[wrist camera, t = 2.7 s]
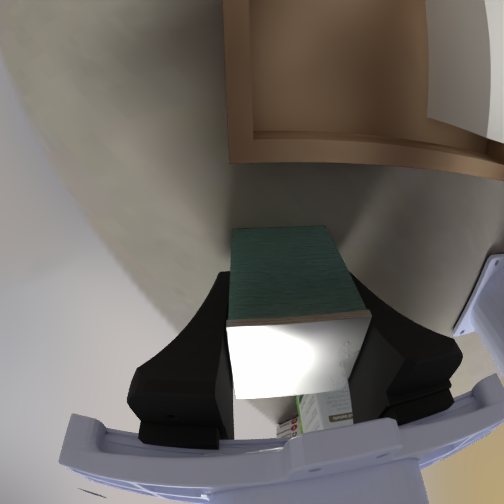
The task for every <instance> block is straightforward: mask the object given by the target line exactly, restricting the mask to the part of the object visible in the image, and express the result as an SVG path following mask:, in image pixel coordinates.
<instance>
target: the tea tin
mask: <svg viewBox="0 0 504 504" xmlns="http://www.w3.org/2000/svg"><path fill="white" fill-rule="evenodd" d="M371 318H372V315H371V313H370V310H367V309H366V307H365V305H364V302H363V300H362V298H361V296H360V294H359V292H358V290H357V288H356V285H355V283H354V281H353V279H352V277H351V275H350V273H349V271H348V269H347V267H346V265H345V263H344V261H343V259H342V257H341V255H340V253H339V251H338V249H337V247H336V245H335V244H334V242H333V240H332V238H331V236H330V234H329V232H328V230H327V228H326V227H325V226H308V227H277V228H251V229H232V247H231V267H230V290H229V314H228V320H226V330H227V337H228V344H229V351H230V358H231V365H232V372H233V378H234V385H235V391H236V397H237V399H243V398H266V397H281V396H293V395H303V394H312V393H320V392H328V391H335V390H341V389H344V387H345V385H346V383H347V381H348V378H349V376H350V373H351V371H352V369H353V366H354V364H355V361H356V359H357V356H358V354H359V351H360V348H361V346H362V343H363V341H364V338H365V335H366V332H367V329H368V327H369V324H370V321H371Z"/></svg>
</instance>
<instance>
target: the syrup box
mask: <svg viewBox="0 0 504 504" xmlns="http://www.w3.org/2000/svg"><path fill="white" fill-rule="evenodd" d="M295 399H296V404H297V411H298V417H299V423H300V429H301V434H302V433H307V432H312V431H316V430H323V429H330V428H336V427H342V426H347V425H352V424H353V415H352V406H351V398H350V391H349V385H348V381H347V383H346V385H345V387H344V389H341V390H335V391H328V392H320V393H312V394H303V395H296V396H295ZM423 483H424V482H423ZM424 487H425V486H424ZM425 491H426V490H425ZM426 495H427V494H426ZM427 499H428V498H427ZM428 503H429V501H428Z"/></svg>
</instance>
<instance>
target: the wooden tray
mask: <svg viewBox="0 0 504 504" xmlns="http://www.w3.org/2000/svg"><path fill="white" fill-rule="evenodd" d="M223 27H224V55H225V80H226V102H227V122H228V141H229V159H230V164H239V163H268V162H327V163H355V164H373V165H388V166H400V167H411V168H421V169H430V170H438V171H446V172H453V173H460V174H467V175H473V176H479V177H485V178H490V179H496V180H501V181H504V143H501V142H498V141H495V140H492V139H488V138H486V137H483V136H481V135H478V134H475V133H473V132H470V131H468V130H465V129H462V128H459V127H456V126H454V125H451V124H448V123H445V122H441V121H438V120H435V119H432V118H428V117H427V106H428V84H429V49H428V28H427V16H426V6H425V0H223Z"/></svg>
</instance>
